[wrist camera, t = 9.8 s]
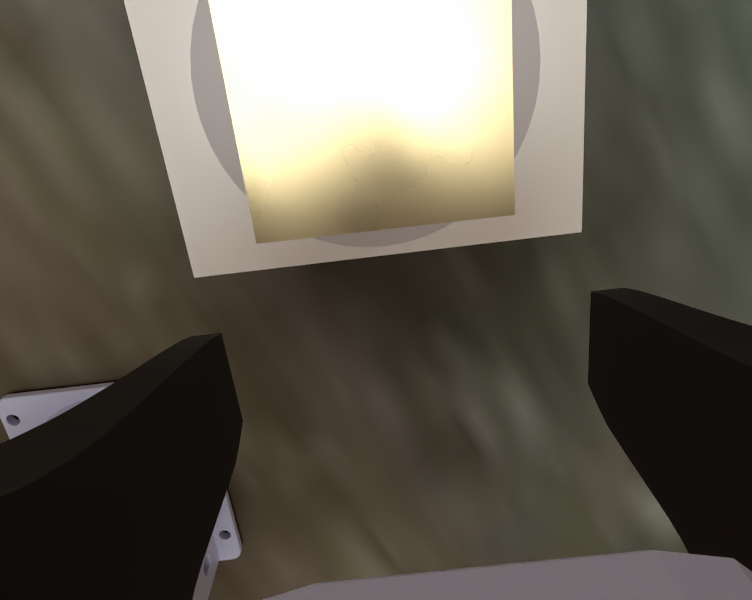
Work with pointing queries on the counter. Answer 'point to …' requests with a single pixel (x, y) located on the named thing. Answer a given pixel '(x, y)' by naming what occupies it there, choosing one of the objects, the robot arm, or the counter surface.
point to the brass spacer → (369, 112)
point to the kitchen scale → (241, 253)
